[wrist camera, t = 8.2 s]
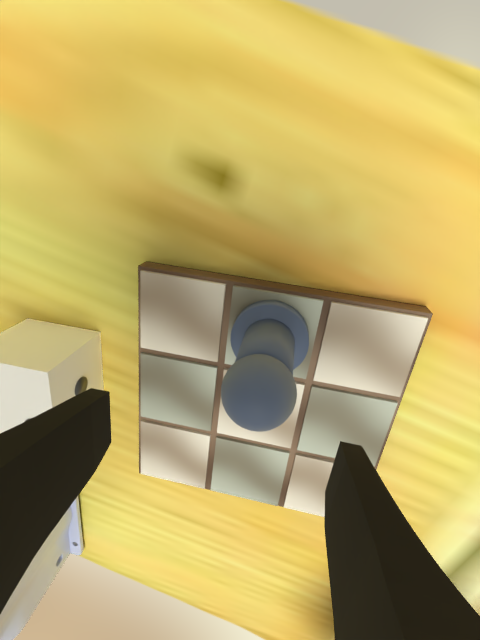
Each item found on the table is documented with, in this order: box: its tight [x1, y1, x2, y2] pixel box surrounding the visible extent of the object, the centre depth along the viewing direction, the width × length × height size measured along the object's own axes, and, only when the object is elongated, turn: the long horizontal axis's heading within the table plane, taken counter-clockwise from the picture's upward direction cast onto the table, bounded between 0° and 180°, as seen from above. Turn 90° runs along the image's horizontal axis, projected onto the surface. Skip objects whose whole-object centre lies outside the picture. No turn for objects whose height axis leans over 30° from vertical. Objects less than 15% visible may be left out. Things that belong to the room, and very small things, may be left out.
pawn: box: [221, 300, 309, 432], centre depth 16 cm, size 4×4×7 cm
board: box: [138, 262, 432, 517], centre depth 21 cm, size 15×15×1 cm
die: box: [0, 318, 104, 433], centre depth 21 cm, size 5×5×5 cm
